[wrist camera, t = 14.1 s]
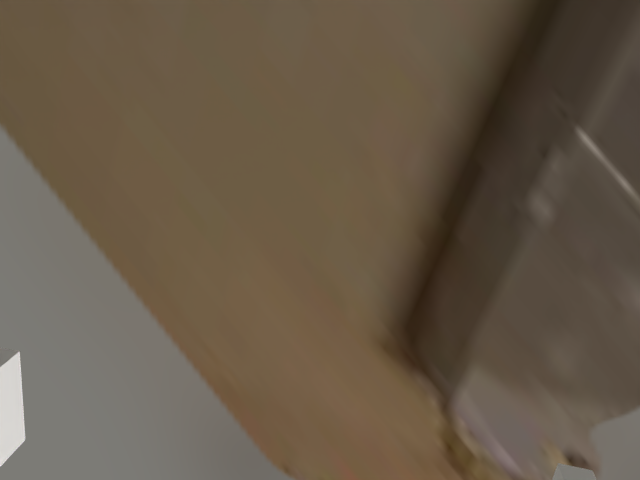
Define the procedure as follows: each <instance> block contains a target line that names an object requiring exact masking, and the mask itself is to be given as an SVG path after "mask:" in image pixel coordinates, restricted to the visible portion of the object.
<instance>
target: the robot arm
mask: <svg viewBox="0 0 640 480" xmlns="http://www.w3.org/2000/svg"><path fill="white" fill-rule="evenodd" d="M24 440H25V429H24V412H23V397H22V382H21V366H20V352H19V351H16V350H11V349H6V348H1V347H0V466H1V465H2V464H3V463H4V462H5V461H6V460H7V459H8V458H9V457H10V456H11V454H12V453H13V452H14V451H15V450H16V449H17V448H18V447H19V446H20V445H21V444H22V443H23V442H24ZM552 480H596V478H595V475H594V473H593V471H592V470H588V469H583V468H578V467H573V466H568V465H564V464H559V463H558V465H557V468H556V471H555V473H554V476H553V479H552Z"/></svg>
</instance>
